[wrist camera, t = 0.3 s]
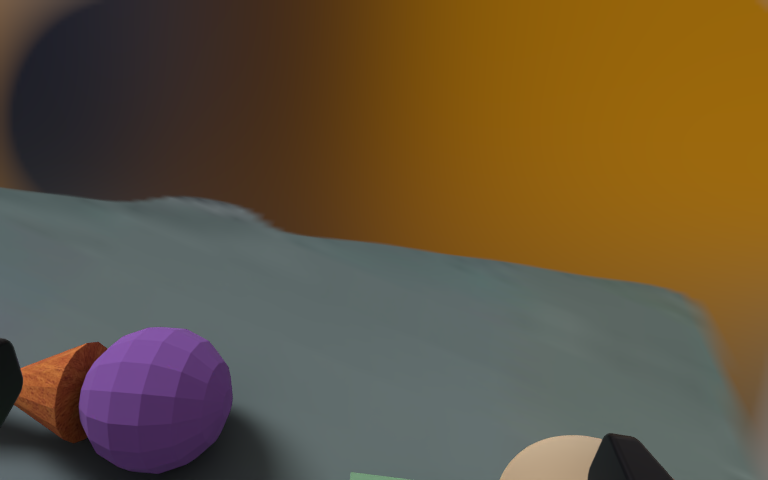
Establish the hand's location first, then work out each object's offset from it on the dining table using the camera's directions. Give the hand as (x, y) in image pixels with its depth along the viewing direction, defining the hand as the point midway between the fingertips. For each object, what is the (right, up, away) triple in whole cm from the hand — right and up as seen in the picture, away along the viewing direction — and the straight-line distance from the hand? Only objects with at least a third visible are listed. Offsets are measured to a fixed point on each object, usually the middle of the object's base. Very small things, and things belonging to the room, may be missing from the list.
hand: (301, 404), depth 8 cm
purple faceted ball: (-16, -6, +17) cm, 24 cm away
